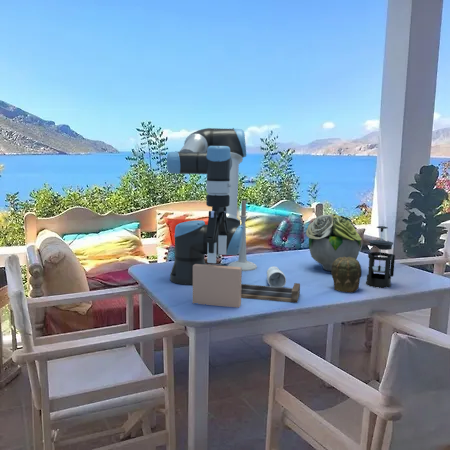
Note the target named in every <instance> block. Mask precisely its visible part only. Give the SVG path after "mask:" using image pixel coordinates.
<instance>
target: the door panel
mask: <svg viewBox="0 0 450 450" xmlns="http://www.w3.org/2000/svg"><path fill="white" fill-rule="evenodd" d="M205 264H206V263H205ZM205 264H195V265H193V284H192V304H194V303H198V304H197V305H205V304H206V305H207V306H217V307H218V306H219V307H228V308H238V309H239V308H240V307H241V305H242V298H241V284H242V277H243V276H242V275H243V274H242V273H243V271H242V267H232V266H228V265H215V264H206V265H205ZM206 305H205V306H206Z"/></svg>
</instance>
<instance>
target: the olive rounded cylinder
mask: <svg viewBox="0 0 450 450" xmlns="http://www.w3.org/2000/svg"><path fill="white" fill-rule="evenodd" d="M361 267H362V266H361V264H360V261H359V260H358V259H355V258H351V257H347V258H346V257H343V258H342V257H340V258H337V259H336V260H335V261H334V262H333V264H332V269H331V271H330V273H331V278H332V280H333V288H334V291H339V292H341V293H342V292H343V293H355V292H356V291H358V289H359V287H360V280H361V277H362V268H361Z"/></svg>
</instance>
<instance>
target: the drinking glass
mask: <svg viewBox="0 0 450 450" xmlns="http://www.w3.org/2000/svg"><path fill="white" fill-rule="evenodd" d="M266 277H267V278H266V279H267V283H268V286H272V287H284V288H285V285H286V283H287V277H286V275H285V273H284V272H283V271H282V270H280V269H279V267H278V266H274V265H273V266H270V267H269V268H267V271H266Z"/></svg>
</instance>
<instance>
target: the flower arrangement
mask: <svg viewBox="0 0 450 450" xmlns="http://www.w3.org/2000/svg"><path fill="white" fill-rule="evenodd" d="M305 235H306V237H308V250H309V252H310V256H311V258H312V259H313V260H314V261H315V262H317V263H318V264H320V265H321V266H322V269H323V270H325V271H328V272H331V269H332V264H333V262H334V261H335V260H336V259H337V258H340V257H342V258H343V257H346V258H347V257H351V258H355V259H356V260H358V259H357V258H358V256H359V253H360V248H362V245H361V244H362V243H361V242H362V241H361V240H363V239H362V237H361V235H360V234H359V233H358V231H357V230H356V227H354V225H352V220H351V218H348V217H347V216H343V215H338V214H335V213H333V214H332V213H330V214H329V213H327V214H322V215H317V216H316V217H315V218H314V220H313V221H312V222H311V223H309V224H308V225H307V229H306V230H305Z"/></svg>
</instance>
